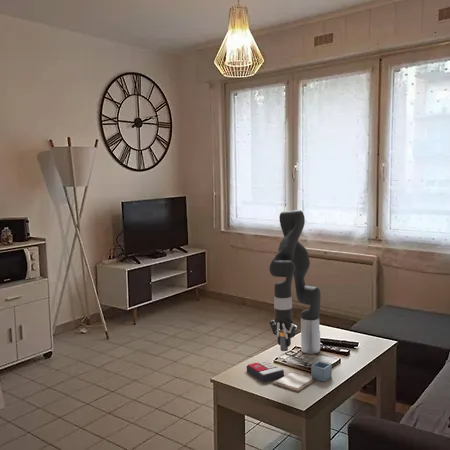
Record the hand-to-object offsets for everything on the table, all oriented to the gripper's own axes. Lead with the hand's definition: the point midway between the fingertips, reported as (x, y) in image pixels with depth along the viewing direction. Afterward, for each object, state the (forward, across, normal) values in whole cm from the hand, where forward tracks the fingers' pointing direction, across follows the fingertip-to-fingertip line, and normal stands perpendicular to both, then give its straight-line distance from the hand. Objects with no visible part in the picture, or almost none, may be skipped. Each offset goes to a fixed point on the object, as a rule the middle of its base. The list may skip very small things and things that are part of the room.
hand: (284, 345), depth 214 cm
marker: (+2, 0, 0) cm, 2 cm away
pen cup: (+17, -10, -14) cm, 24 cm away
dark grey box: (+18, +12, -2) cm, 22 cm away
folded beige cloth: (+17, -3, -3) cm, 17 cm away
